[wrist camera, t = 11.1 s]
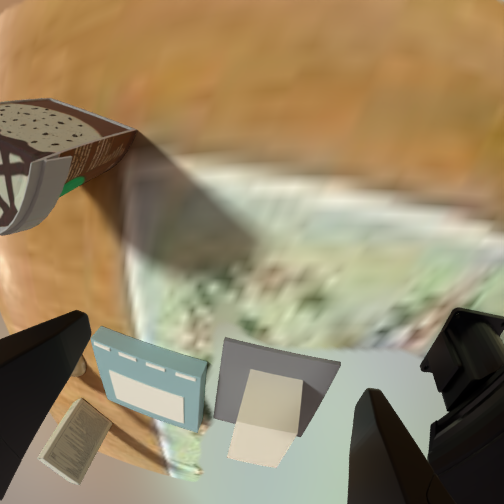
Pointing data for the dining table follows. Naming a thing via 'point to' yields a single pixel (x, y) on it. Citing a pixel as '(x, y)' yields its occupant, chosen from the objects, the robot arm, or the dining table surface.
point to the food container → (51, 156)
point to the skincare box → (75, 441)
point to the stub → (266, 419)
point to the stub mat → (274, 362)
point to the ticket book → (151, 379)
